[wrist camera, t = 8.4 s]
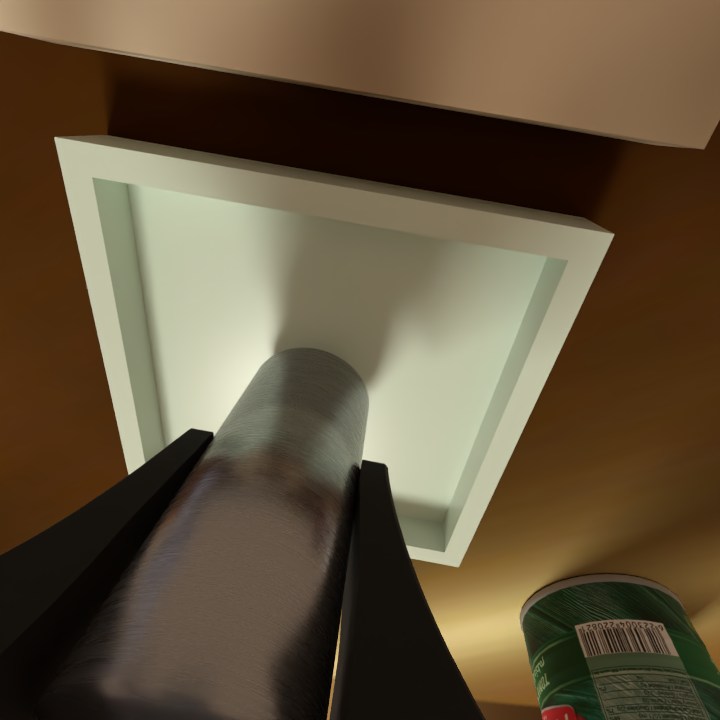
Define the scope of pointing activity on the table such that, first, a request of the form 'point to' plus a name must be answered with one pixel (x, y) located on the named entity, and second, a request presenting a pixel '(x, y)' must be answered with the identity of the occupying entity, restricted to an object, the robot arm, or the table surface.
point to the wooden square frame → (436, 53)
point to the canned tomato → (617, 652)
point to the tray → (327, 308)
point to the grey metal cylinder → (236, 567)
